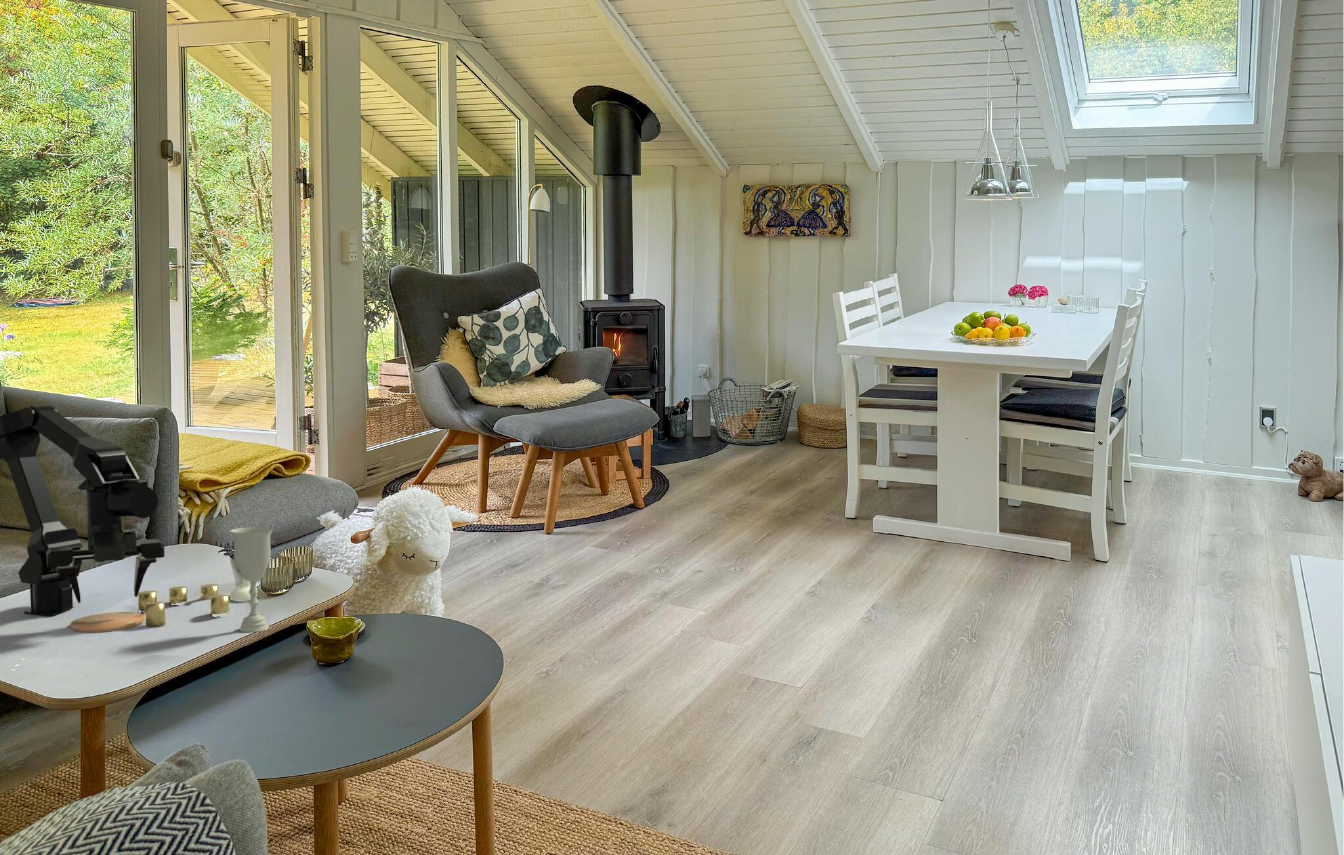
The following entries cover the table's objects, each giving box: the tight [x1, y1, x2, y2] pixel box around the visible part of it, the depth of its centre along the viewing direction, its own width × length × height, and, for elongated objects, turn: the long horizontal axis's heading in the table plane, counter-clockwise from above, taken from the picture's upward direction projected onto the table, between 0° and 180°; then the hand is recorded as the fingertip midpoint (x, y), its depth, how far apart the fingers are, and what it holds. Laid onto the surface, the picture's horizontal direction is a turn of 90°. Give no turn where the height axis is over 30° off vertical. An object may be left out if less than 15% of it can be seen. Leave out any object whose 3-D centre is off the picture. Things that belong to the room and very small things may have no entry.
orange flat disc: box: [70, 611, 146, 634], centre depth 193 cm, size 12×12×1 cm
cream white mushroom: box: [229, 577, 257, 600], centre depth 208 cm, size 6×6×8 cm
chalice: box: [230, 526, 274, 633], centre depth 190 cm, size 7×7×18 cm
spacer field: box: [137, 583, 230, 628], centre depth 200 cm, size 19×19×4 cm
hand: (107, 599), depth 193 cm, fingers open, 9 cm apart
